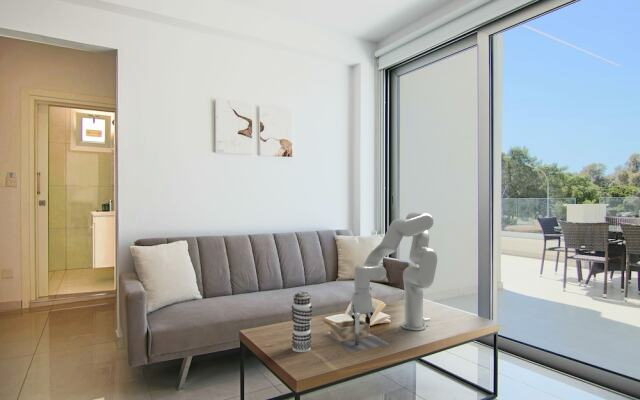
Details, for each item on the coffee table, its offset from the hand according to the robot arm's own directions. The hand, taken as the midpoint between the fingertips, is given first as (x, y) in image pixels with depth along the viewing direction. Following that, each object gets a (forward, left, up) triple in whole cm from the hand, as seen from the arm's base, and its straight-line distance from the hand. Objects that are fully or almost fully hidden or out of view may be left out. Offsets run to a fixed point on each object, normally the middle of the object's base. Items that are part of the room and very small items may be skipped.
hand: (361, 326), depth 193 cm
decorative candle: (+34, +4, -4) cm, 35 cm away
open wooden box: (+7, 0, -3) cm, 7 cm away
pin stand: (+7, +6, -4) cm, 10 cm away
